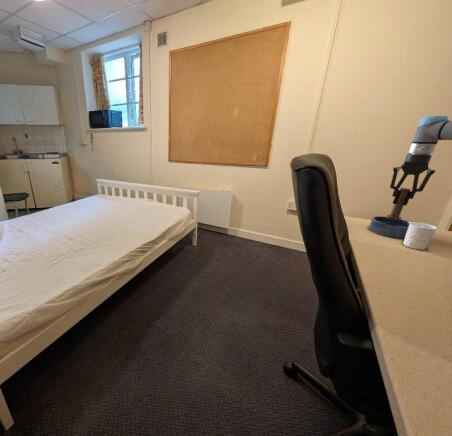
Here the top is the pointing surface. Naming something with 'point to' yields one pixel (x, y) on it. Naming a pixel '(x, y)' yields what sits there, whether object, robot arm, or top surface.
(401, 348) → the top surface
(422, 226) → the white cup
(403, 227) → the bowl
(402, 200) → the wooden masher
